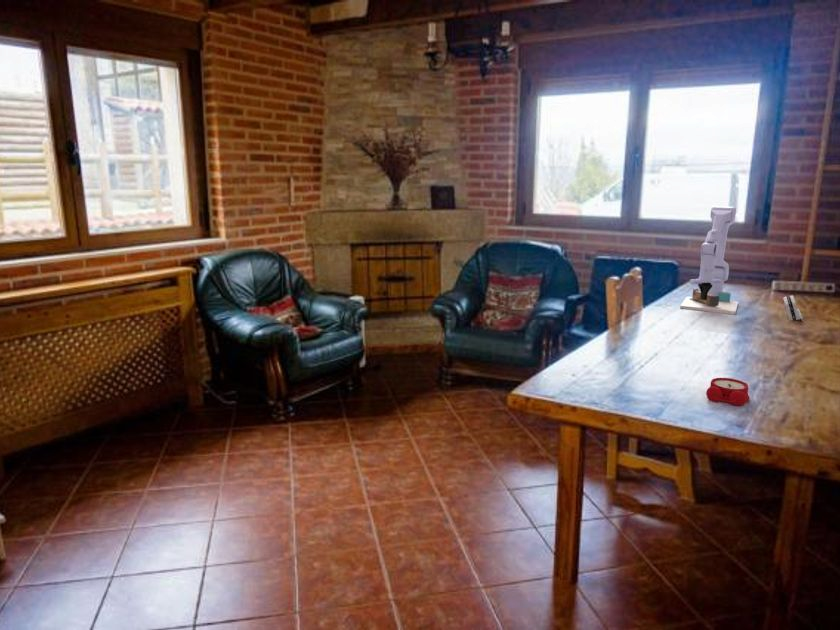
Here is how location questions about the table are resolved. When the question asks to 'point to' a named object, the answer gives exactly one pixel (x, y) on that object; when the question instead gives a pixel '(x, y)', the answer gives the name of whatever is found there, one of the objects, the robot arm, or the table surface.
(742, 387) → the alarm clock
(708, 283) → the robot arm
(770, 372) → the table surface
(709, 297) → the folding leg
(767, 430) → the table surface
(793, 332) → the table surface
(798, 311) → the hinge
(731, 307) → the board
